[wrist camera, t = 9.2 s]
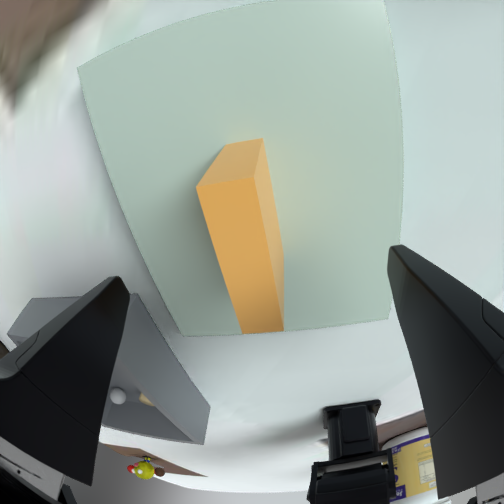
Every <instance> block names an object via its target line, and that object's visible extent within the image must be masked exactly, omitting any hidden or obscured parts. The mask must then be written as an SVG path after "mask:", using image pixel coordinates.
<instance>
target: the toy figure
mask: <svg viewBox="0 0 504 504" xmlns="http://www.w3.org/2000/svg"><path fill="white" fill-rule="evenodd" d="M143 457H144V458H145V459H144V461H140V462H138V463H135V464H134V466H133V465H129V466H128V467H127V469H128V471H129V472H131V473H135V474H136V475H137V476H138V477H140V478H142V479H149V478H151V477H152V476H153V475H154V473H155V474H156V475H157V476H159V477H162V476H164V474H165V471H164V470H163V469H162V468H156V469H155V470H154V468H153V466H152V465H151V464H150V463H149V462H150V459H151V458H150V457H147V456H143ZM147 458H148V460H147ZM146 460H147V462H146Z"/></svg>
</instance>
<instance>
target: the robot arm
mask: <svg viewBox="0 0 504 504" xmlns="http://www.w3.org/2000/svg"><path fill="white" fill-rule="evenodd" d="M387 275H388V279H389V283H390V287H391V291H392V295H393V299H394V304H395V308H396V312H397V316H398V320H399V323H400V326H401V329H402V332H403V335H404V338H405V341H406V345H407V348H408V351H409V354H410V358H411V361H412V365H413V368H414V372H415V376H416V379H417V383H418V387H419V391H420V395H421V399H422V403H423V408H424V412H425V417H426V422H427V427H428V432H429V437H430V438H431V439H430V443H431V449H432V456H433V462H434V469H435V477H436V486H437V496H438V500H440V499H443V498H446V497H449V496H451V495H454V494H457V493H460V492H462V491H465V490H467V489H470V488H472V487H475V486H476V494H477V496H475V497H473V498H471V499H470V500H469V501H468V503H467V504H504V313H503V312H502V311H501V310H499V309H498V308H497V307H495V306H494V305H492V304H491V303H490V302H488V301H487V300H486V299H484V298H483V299H482V297H481V296H480V295H479V294H477V293H476V292H474V291H473V290H471V289H470V288H469V287H467V286H466V285H464V284H463V283H461V282H460V281H459V280H457V279H456V278H454V277H453V276H451V275H450V274H448V273H447V272H445V271H444V270H442V269H441V268H439V267H437V266H436V265H434V264H433V263H431V262H430V261H428V260H427V259H425V258H423V257H422V256H420V255H419V254H417V253H415V252H414V251H412V250H411V249H409V248H407V247H406V246H404V245H393V246H390V248H389V252H388V263H387ZM129 302H130V294H129V292H128V290H127V288H126V286H125V284H124V283H123V281H122V279H121V278H120V277H119V276H113V277H108V278H107V279H106V280H104V281H103V282H101V283H100V284H99V285H97V286H96V287H94V288H93V289H92V290H90V291H89V292H88V293H86V294H85V295H83V296H82V297H81V298H79V299H78V300H77V301H75V302H74V303H73V304H71V305H70V306H69V307H67V308H66V309H65V310H64V311H62V312H61V313H60V314H58V315H57V316H56V317H54V318H53V319H52V320H51V321H49V322H48V323H47V324H46V325H44V326H43V327H42V328H41V329H39V330H38V331H37V332H35V333H34V334H33V335H32V336H30V337H29V338H28V339H27V340H25V341H24V342H23V343H21V344H20V345H19V346H17V347H16V348H15V349H14V350H12V351H11V352H10V353H8V354H7V355H6V356H4V357H3V358H2V359H0V504H77V503H76V501H75V498H74V496H73V494H72V491H71V489H70V486H68V485H66V484H64V483H63V481H64V477H65V475H66V476H69V477H70V478H73V479H75V480H77V481H79V482H81V483H84V484H86V485H89V486H92V481H93V473H94V466H95V459H96V453H97V445H98V440H99V434H100V428H101V423H102V418H103V413H104V408H105V404H106V399H107V395H108V390H109V386H110V382H111V378H112V374H113V370H114V366H115V362H116V358H117V354H118V351H119V347H120V344H121V340H122V336H123V332H124V327H125V322H126V317H127V312H128V307H129ZM380 406H381V401H380V400H376V401H370V402H364V403H358V404H351V405H344V406H336V407H328V408H325V409H324V429H328V446H329V461H324V462H314V465H312V473H311V482H310V486H309V490H308V494H307V500H308V501H309V502H310V504H390V499H394V498H396V481H395V472H394V464H393V456H392V449H391V448H387V449H386V450H382V451H379V444H378V436H377V428H376V421H375V417H376V415H377V413H378V410H379V408H380ZM386 461H387V464H384V465H381V463H382V462H386Z"/></svg>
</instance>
